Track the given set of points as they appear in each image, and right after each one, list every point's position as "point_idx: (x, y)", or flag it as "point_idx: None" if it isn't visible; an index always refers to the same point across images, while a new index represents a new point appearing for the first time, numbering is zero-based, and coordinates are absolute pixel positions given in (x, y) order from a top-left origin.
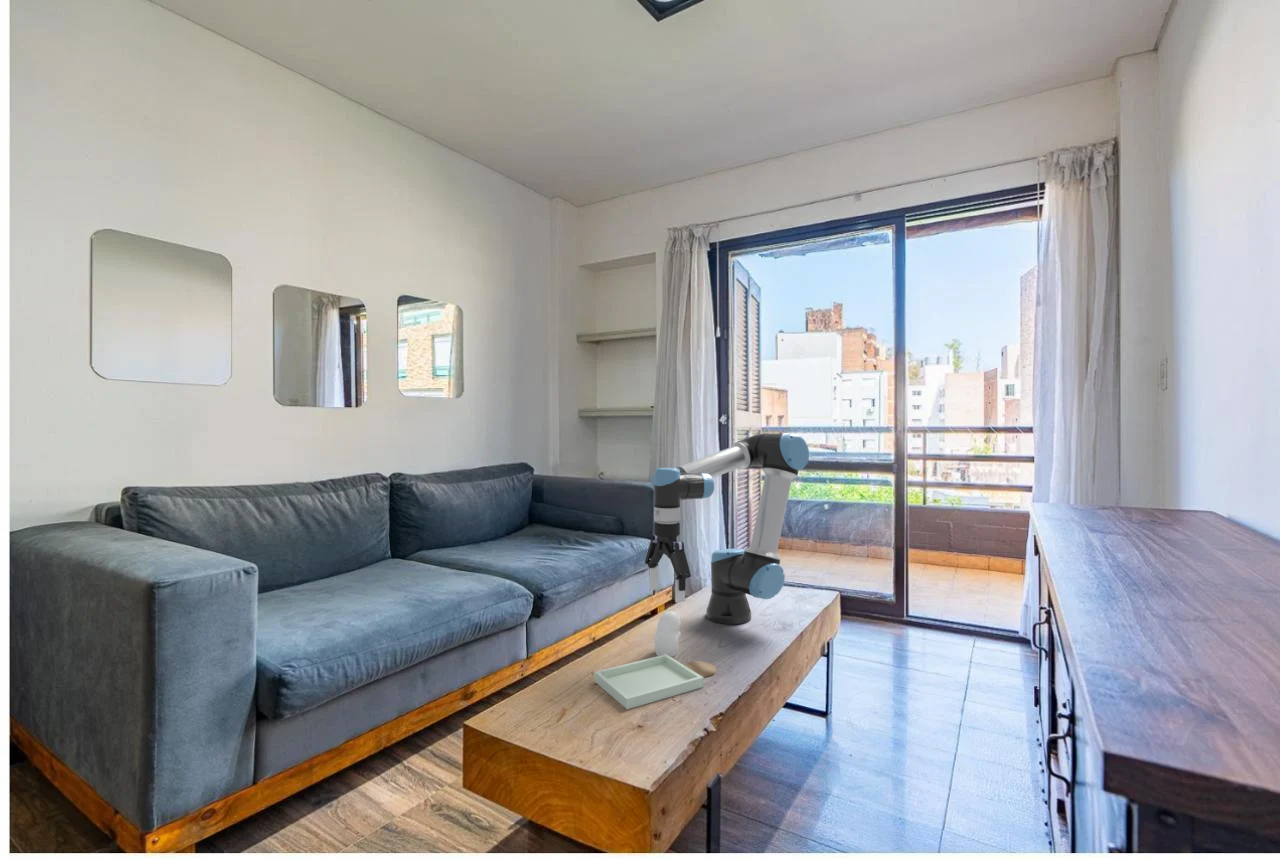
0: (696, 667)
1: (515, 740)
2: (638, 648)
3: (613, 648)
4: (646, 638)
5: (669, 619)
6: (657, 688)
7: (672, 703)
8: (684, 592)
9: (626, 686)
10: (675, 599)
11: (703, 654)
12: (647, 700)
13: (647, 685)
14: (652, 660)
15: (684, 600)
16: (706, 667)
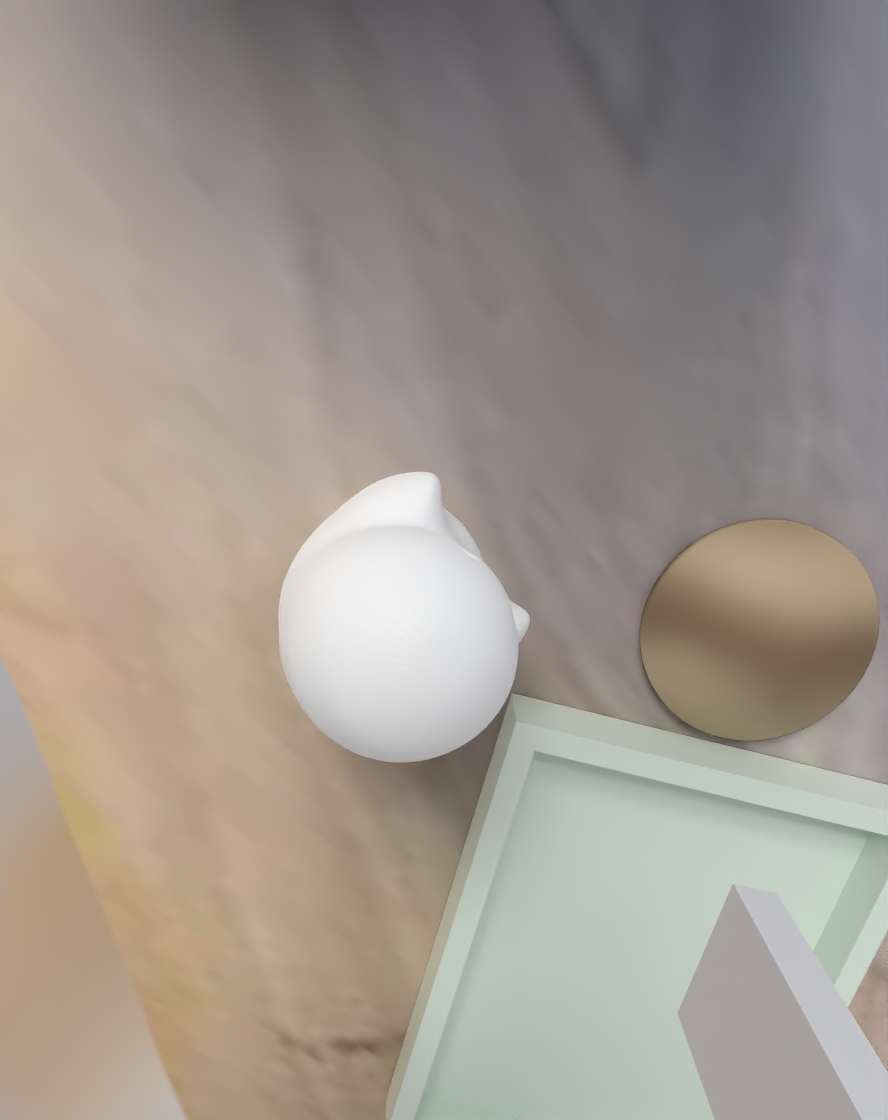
0: (736, 638)
1: None
2: (193, 645)
3: (80, 759)
4: (73, 463)
5: (462, 744)
6: None
7: (860, 1012)
8: (859, 1039)
9: (576, 1063)
10: (696, 1053)
11: (620, 393)
12: None
13: (655, 994)
14: (505, 837)
15: (782, 912)
16: (794, 594)
